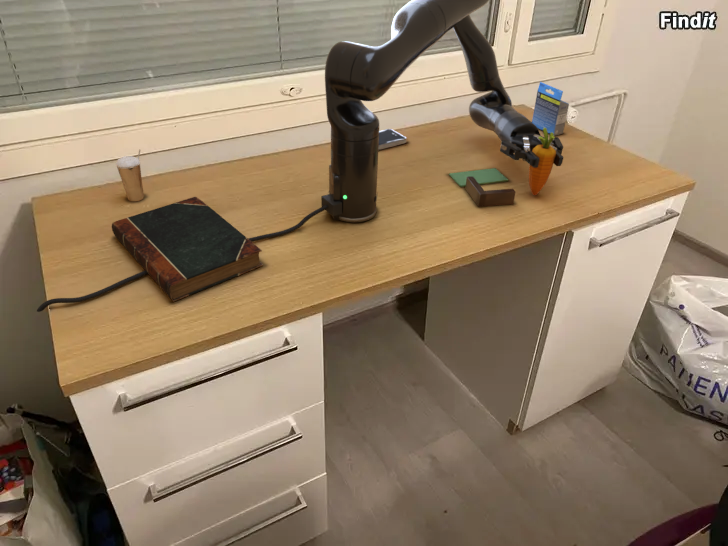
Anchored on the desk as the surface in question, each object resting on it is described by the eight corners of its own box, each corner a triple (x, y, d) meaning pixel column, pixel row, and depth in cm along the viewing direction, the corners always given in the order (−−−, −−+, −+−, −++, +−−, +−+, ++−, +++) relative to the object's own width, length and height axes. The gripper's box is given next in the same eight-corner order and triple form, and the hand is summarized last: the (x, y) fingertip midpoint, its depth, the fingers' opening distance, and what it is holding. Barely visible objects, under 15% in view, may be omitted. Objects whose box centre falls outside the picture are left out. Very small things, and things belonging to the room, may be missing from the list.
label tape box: (563, 134, 159) (574, 88, 152) (552, 136, 157) (562, 91, 150) (540, 123, 165) (549, 79, 158) (529, 125, 163) (538, 81, 156)
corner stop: (478, 206, 124) (480, 194, 122) (465, 188, 131) (466, 176, 129) (513, 204, 126) (515, 191, 124) (498, 186, 132) (500, 174, 130)
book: (264, 266, 104) (199, 211, 120) (262, 249, 102) (196, 195, 117) (171, 303, 95) (114, 238, 110) (168, 285, 93) (110, 221, 108)
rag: (460, 187, 131) (460, 185, 131) (448, 175, 136) (449, 173, 136) (508, 181, 134) (508, 179, 134) (495, 169, 139) (495, 168, 139)
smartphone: (342, 139, 148) (390, 128, 155) (342, 144, 149) (390, 133, 156) (358, 150, 143) (407, 138, 150) (358, 155, 144) (407, 143, 151)
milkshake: (154, 196, 124) (145, 152, 118) (131, 205, 121) (121, 160, 115) (143, 189, 126) (134, 146, 121) (120, 197, 123) (109, 153, 117)
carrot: (546, 201, 127) (562, 136, 118) (522, 198, 128) (537, 133, 119) (545, 191, 131) (560, 127, 122) (522, 188, 132) (536, 124, 123)
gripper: (489, 117, 132) (520, 147, 118) (548, 114, 134) (584, 144, 121) (484, 148, 136) (513, 181, 123) (541, 145, 139) (576, 177, 125)
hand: (548, 162), depth 122 cm, fingers closed on carrot, 4 cm apart
